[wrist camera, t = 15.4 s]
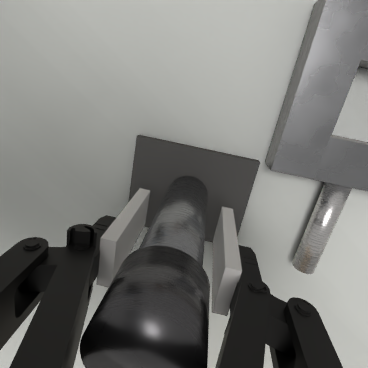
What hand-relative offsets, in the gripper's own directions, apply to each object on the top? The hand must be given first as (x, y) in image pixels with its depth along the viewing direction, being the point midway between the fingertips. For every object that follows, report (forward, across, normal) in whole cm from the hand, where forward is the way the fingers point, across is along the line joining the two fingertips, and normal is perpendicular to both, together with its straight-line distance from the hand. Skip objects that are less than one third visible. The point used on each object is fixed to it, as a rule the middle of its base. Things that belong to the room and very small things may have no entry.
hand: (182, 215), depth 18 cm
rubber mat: (+5, 0, 0) cm, 5 cm away
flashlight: (+4, 0, 0) cm, 4 cm away
